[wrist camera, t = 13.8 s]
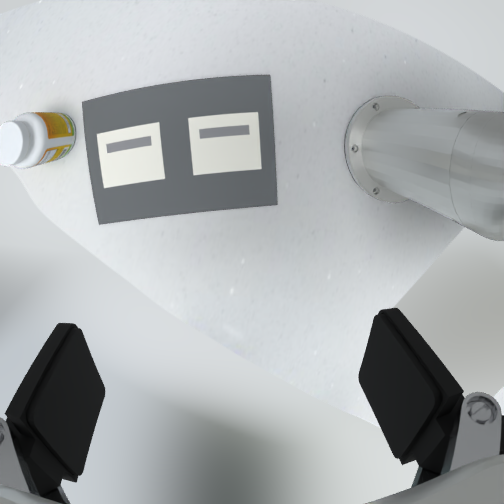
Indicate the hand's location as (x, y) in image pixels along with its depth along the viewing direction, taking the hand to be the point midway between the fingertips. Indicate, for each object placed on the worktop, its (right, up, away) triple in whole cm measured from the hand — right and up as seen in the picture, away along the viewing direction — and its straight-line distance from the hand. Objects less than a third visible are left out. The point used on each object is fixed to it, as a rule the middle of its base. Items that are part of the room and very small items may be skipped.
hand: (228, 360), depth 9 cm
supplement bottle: (-21, +16, +18) cm, 32 cm away
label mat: (-7, +14, +20) cm, 26 cm away
